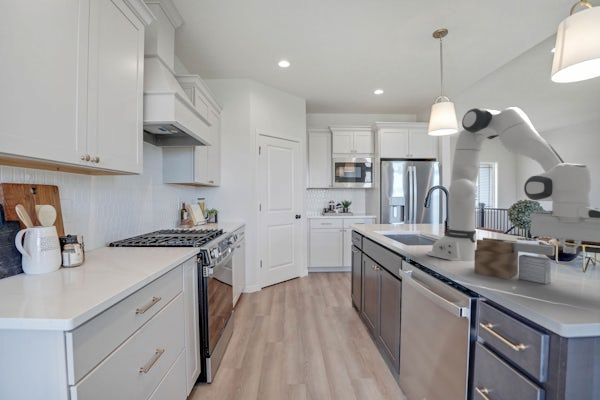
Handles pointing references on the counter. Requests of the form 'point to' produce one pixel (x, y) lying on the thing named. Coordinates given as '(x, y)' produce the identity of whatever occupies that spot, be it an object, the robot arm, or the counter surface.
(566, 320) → the counter surface
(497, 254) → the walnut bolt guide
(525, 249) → the grey square bar
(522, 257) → the medicine box
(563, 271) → the counter surface
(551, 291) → the counter surface
